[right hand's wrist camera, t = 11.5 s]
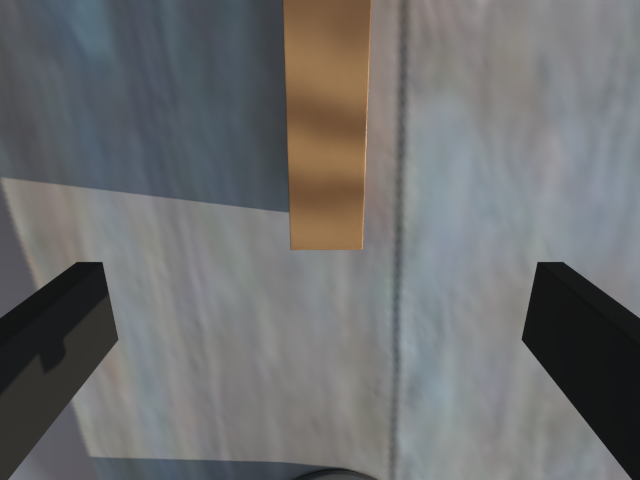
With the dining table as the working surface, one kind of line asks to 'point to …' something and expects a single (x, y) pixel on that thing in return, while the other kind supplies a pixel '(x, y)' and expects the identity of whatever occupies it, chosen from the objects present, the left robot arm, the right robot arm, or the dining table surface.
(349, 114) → the beam
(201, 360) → the dining table surface
